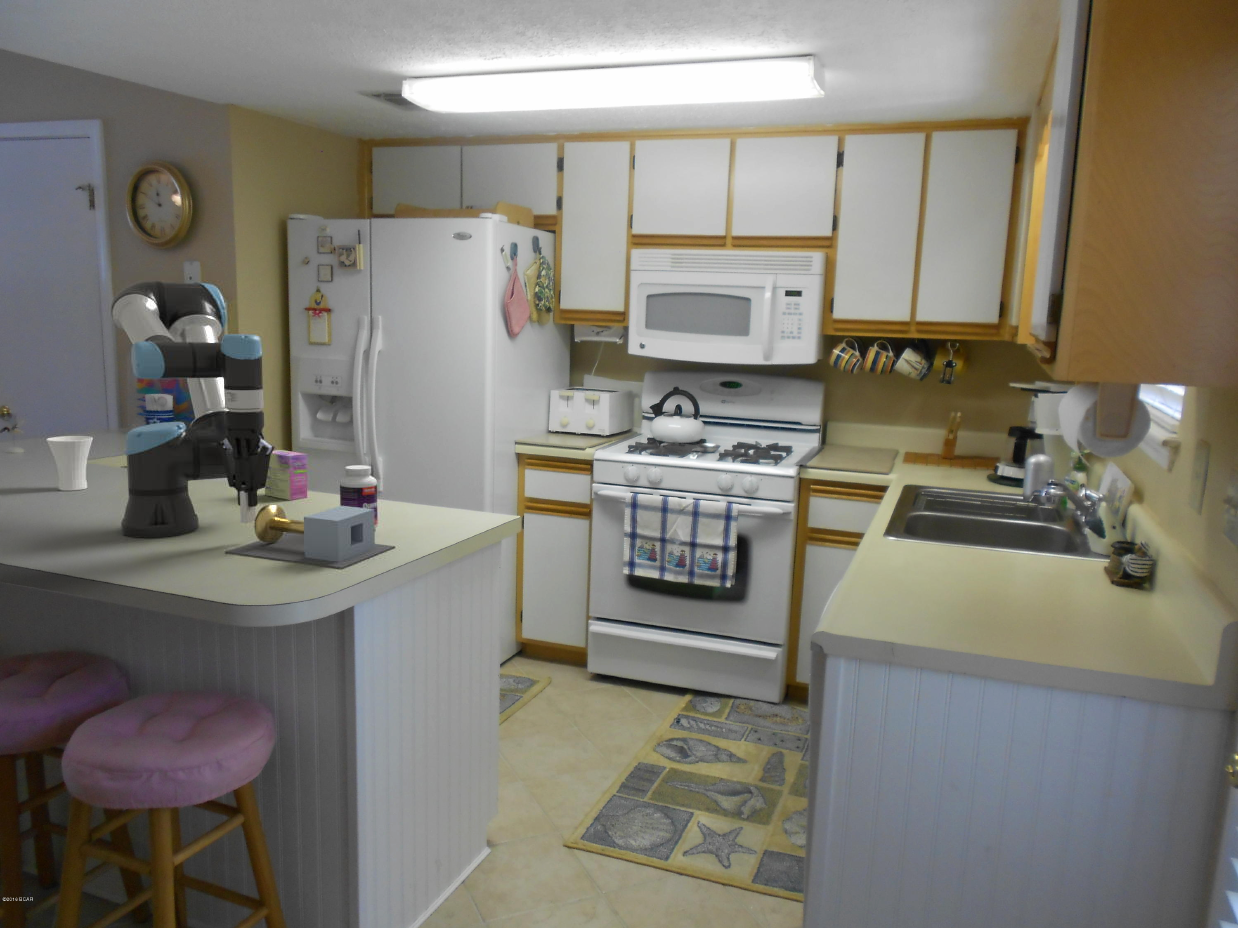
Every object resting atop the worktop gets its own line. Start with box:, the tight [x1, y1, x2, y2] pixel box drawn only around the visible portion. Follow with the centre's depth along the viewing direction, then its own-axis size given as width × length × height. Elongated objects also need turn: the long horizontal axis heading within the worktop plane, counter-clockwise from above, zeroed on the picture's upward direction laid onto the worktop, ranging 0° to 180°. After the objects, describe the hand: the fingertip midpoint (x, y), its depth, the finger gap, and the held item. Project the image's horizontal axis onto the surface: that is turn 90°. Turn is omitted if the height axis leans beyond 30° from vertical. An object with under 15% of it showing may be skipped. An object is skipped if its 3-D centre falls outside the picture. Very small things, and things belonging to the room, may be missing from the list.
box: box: [264, 449, 308, 501], centre depth 236 cm, size 10×6×12 cm, turn 58°
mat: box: [224, 532, 396, 570], centre depth 184 cm, size 28×18×1 cm, turn 71°
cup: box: [46, 435, 94, 492], centre depth 238 cm, size 10×10×14 cm
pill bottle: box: [339, 464, 379, 530], centre depth 201 cm, size 8×8×14 cm
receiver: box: [303, 505, 376, 562], centre depth 181 cm, size 8×12×8 cm, turn 161°
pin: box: [253, 504, 304, 543], centre depth 184 cm, size 18×8×8 cm, turn 71°
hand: (248, 521), depth 189 cm, fingers closed
